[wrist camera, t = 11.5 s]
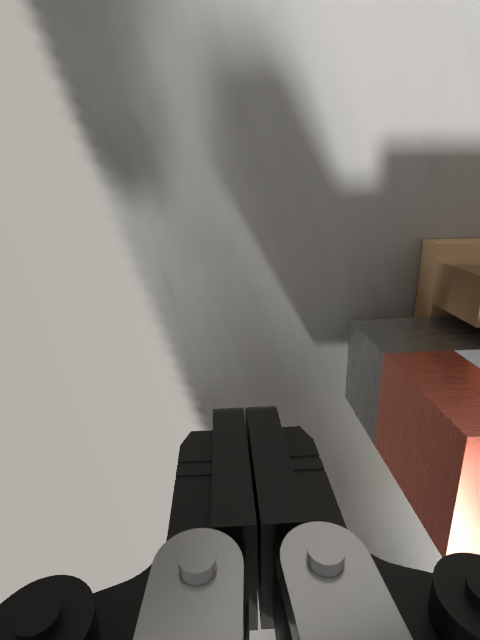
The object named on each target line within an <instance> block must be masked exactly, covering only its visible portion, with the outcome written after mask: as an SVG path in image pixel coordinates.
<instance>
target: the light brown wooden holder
mask: <svg viewBox="0 0 480 640" xmlns="http://www.w3.org/2000/svg"><path fill="white" fill-rule="evenodd" d="M444 316H456V317H458V318H460V319H462V320H463V321H465V322H467V323H469V324H471V325H473V326H474V327H476V328H478V327H480V238H459V239H423V246H422V254H421V262H420V271H419V279H418V287H417V296H416V304H415V312H414V317H444Z"/></svg>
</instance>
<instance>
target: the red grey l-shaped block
mask: <svg viewBox="0 0 480 640" xmlns="http://www.w3.org/2000/svg"><path fill="white" fill-rule="evenodd" d="M345 397H346V399H347V400H348V402H349V404H350V405H351V407H352V409H353V410H354V412H355V414H356V415H357V417H358V419H359V420H360V422H361V424H362V425H363V427H364V428H365V430H366V432H367V433H368V435H369V437H370V438H371V440H372V442H373V443H374V445H375V447H376V448H377V450H378V452H379V453H380V455H381V457H382V458H383V460H384V462H385V463H386V465H387V467H388V468H389V470H390V471H391V473H392V475H393V476H394V478H395V480H396V481H397V483H398V485H399V486H400V488H401V490H402V491H403V493H404V495H405V496H406V498H407V500H408V501H409V503H410V505H411V506H412V508H413V510H414V511H415V513H416V514H417V516H418V518H419V519H420V521H421V523H422V524H423V526H424V528H425V529H426V531H427V533H428V534H429V536H430V538H431V539H432V541H433V543H434V544H435V546H436V548H437V549H438V551H439V553H440V554H441V556H442V557H445V556H447V555H449V554H453V553H459V552H466V553H474V554H479V555H480V327H478V328H476V327H474V326H473V325H471V324H469V323H467V322H465V321H463V320H462V319H460V318H458V317H456V316H444V317H414V318H385V319H355V320H350V335H349V349H348V364H347V378H346V392H345Z"/></svg>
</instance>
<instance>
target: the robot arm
mask: <svg viewBox="0 0 480 640" xmlns="http://www.w3.org/2000/svg"><path fill="white" fill-rule="evenodd" d="M257 590H258V598H259V599H258V600H259V610H260V619H261V629H273V628H275V634H276V640H480V555H479V554H474V553H466V552H459V553H453V554H449V555H447V556H445V557H443V558H441V559H440V560H439V561H438V562H437V564H436V566H435V568H434V571H433V573H429V572H425V571H421V570H416V569H412V568H408V567H403V566H399V565H395V564H392V563H389V562H386V561H384V560H381V559H379V558H377V557H376V556H374V555H372V554H370V553H369V551H368V549H367V548H366V546H365V545H364V543H363V542H362V541H361V540H360V539H359V538H358V537H357V536H356V535H355V534H353V533H352V532H350V531H349V530H348V529H347V527H346V525H345V522H344V520H343V517H342V514H341V512H340V509H339V506H338V504H337V501H336V498H335V496H334V493H333V490H332V488H331V485H330V482H329V480H328V477H327V475H326V472H324V467H323V464H322V461H321V459H320V458H319V453H318V451H317V448H316V445H315V443H314V440H313V439H312V438H311V437H310V436H309V435H308V434H307V433H306V432H305V431H304V430H303V429H302V428H301V427H300V426H297V427H281V423H280V419H279V416H278V412H277V408H276V406H270V407H247V408H246V409H245V418H244V410H243V408H226V409H213V431H192V432H190V434H189V435H188V436H187V438H186V439H185V440H184V441H183V443H182V444H181V446H180V451H179V458H178V465H177V472H176V480H175V486H174V493H173V501H172V507H171V514H170V521H169V529H168V536H167V540H166V543H165V544H163V545H162V547H161V548H160V550H159V551H158V552H157V554H156V556H155V557H154V560H153V563H152V565H150V566H149V567H148V568H147V569H146V570H145V571H143V572H142V573H141V574H139V575H137V576H136V577H134V578H132V579H130V580H128V581H125V582H123V583H120V584H118V585H115V586H112V587H109V588H107V589H104V590H101V591H99V592H96V593H92V591H91V589H90V587H89V586H88V585H87V584H86V583H85V582H84V581H82V580H81V579H79V578H76V577H73V576H68V575H55V576H49V577H46V578H42V579H39V580H36V581H34V582H32V583H30V584H28V585H26V586H24V587H23V588H21V589H19V590H18V591H17V592H15V593H14V594H12V595H11V596H10V597H9V598H7V599H6V600H5V601H3V602H2V603H1V604H0V640H249V630H258V607H257Z"/></svg>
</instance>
